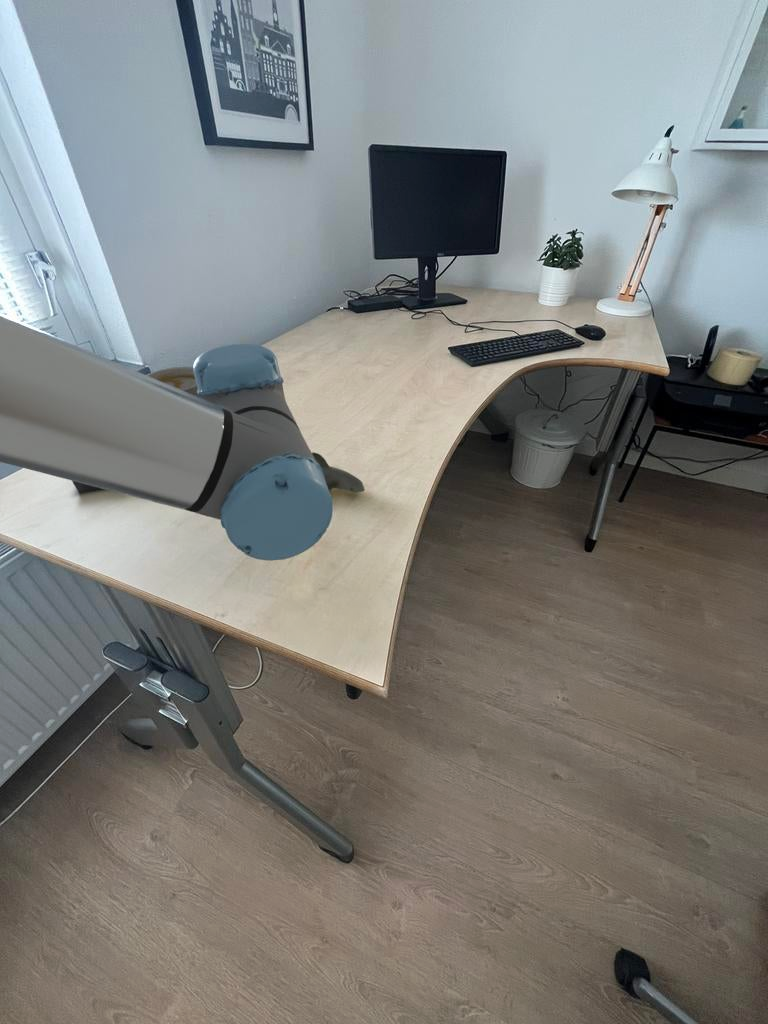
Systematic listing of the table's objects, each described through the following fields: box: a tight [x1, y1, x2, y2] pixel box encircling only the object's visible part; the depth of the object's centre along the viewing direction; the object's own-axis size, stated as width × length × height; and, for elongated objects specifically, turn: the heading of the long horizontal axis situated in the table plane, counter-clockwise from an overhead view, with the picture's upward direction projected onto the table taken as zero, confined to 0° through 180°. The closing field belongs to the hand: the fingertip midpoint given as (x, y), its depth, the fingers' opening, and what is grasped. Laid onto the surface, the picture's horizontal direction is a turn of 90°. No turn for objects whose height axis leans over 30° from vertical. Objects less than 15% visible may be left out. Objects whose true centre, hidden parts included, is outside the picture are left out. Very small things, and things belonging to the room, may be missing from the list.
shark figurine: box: [311, 451, 366, 494], centre depth 75 cm, size 14×17×8 cm
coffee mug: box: [146, 366, 200, 398], centre depth 66 cm, size 13×10×10 cm
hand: (175, 395), depth 69 cm, fingers closed on coffee mug, 4 cm apart
